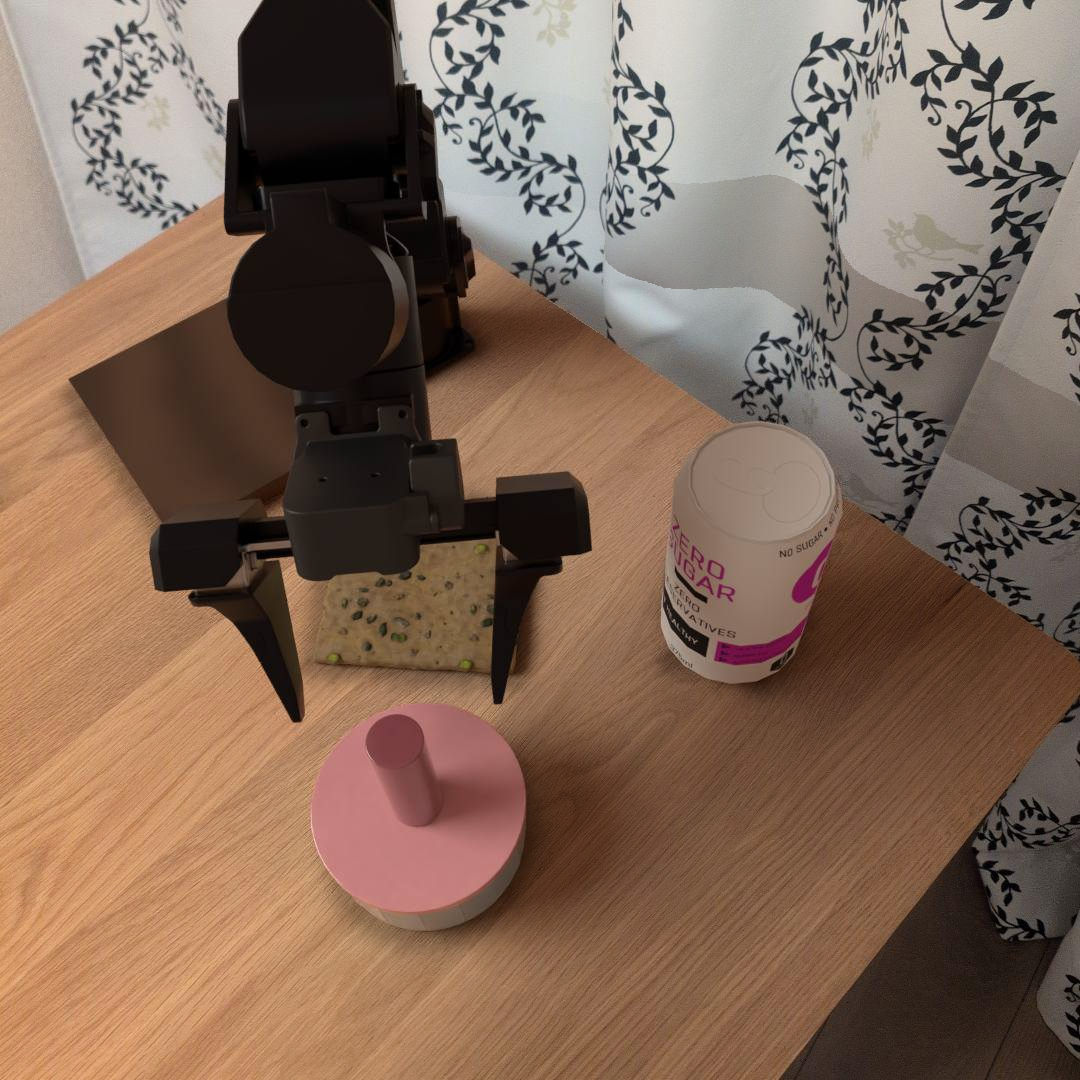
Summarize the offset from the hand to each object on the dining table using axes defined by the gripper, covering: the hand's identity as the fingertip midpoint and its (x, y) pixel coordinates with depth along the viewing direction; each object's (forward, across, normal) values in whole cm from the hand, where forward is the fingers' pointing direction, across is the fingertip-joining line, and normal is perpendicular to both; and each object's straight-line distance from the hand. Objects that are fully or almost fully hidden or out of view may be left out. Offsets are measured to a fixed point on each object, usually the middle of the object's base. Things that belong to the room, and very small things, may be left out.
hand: (398, 710), depth 53 cm
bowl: (+10, 0, +7) cm, 12 cm away
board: (-12, -14, +28) cm, 33 cm away
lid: (+6, 0, +4) cm, 7 cm away
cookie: (-1, 0, +18) cm, 18 cm away
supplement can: (+2, +18, +14) cm, 23 cm away
